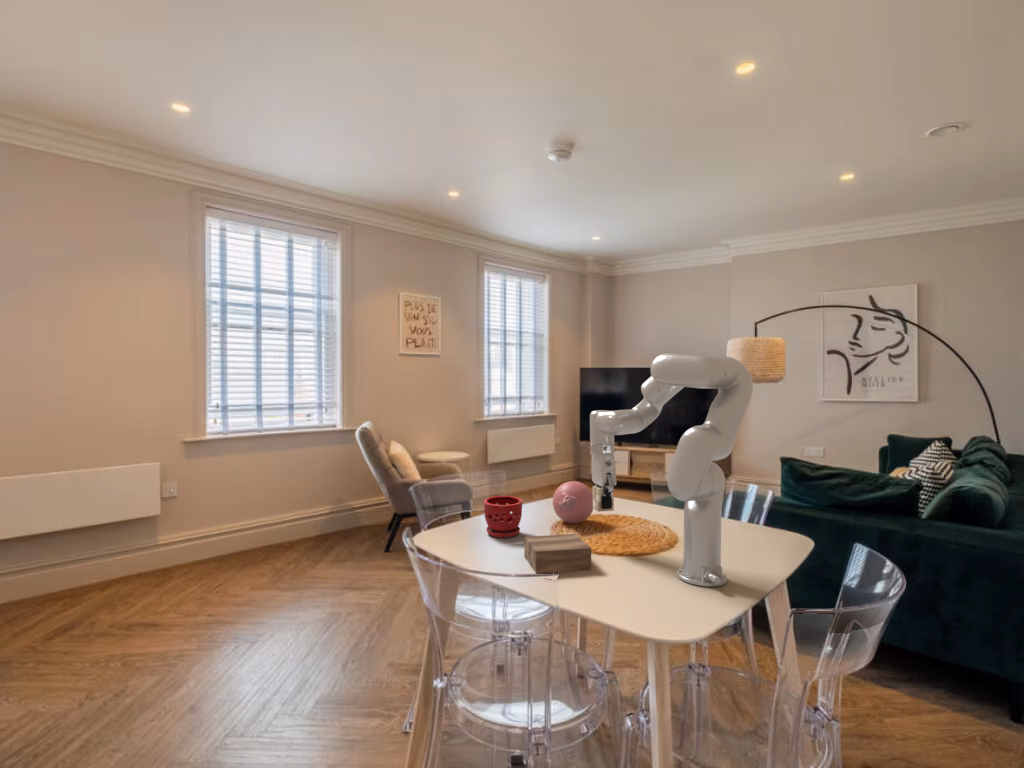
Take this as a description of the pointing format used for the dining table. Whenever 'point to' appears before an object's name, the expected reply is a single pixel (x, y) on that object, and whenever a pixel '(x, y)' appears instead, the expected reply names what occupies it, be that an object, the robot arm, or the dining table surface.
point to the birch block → (597, 499)
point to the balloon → (573, 502)
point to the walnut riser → (557, 553)
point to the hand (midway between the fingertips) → (603, 506)
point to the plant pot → (503, 515)
